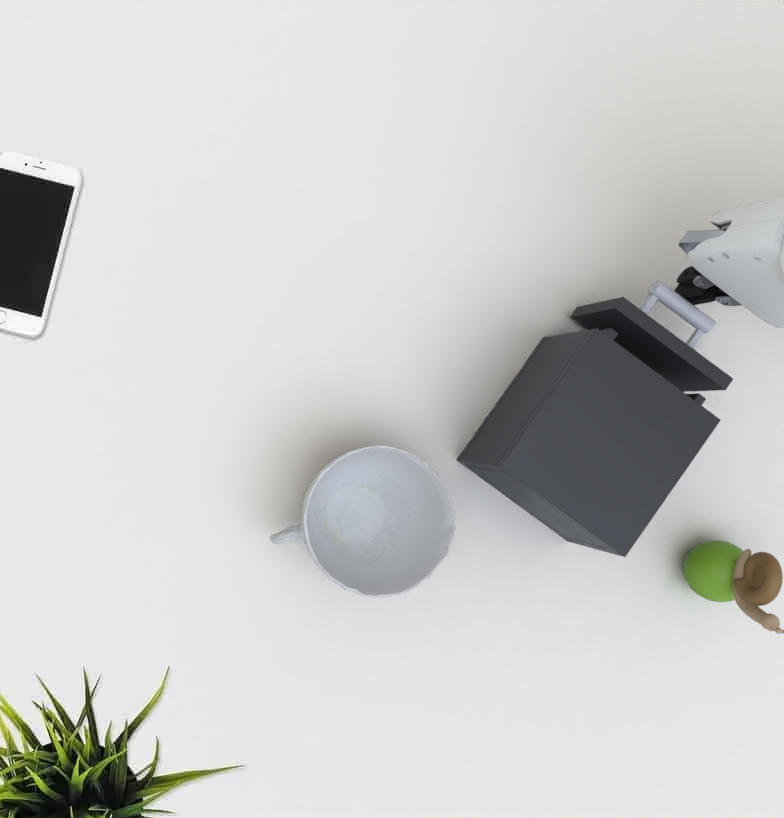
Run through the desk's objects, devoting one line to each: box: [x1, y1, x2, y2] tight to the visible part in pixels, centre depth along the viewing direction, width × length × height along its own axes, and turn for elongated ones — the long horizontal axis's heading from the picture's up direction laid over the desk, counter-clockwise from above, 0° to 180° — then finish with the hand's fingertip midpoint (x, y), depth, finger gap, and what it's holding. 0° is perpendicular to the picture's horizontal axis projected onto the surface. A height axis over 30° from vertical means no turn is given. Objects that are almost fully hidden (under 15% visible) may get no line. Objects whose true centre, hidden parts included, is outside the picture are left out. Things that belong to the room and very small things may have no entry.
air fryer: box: [456, 328, 721, 558], centre depth 86 cm, size 14×13×10 cm
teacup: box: [269, 445, 457, 599], centre depth 86 cm, size 15×12×8 cm
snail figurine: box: [683, 539, 784, 635], centre depth 86 cm, size 5×6×12 cm
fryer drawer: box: [569, 279, 734, 406], centre depth 86 cm, size 17×12×8 cm
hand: (687, 286), depth 87 cm, fingers closed
